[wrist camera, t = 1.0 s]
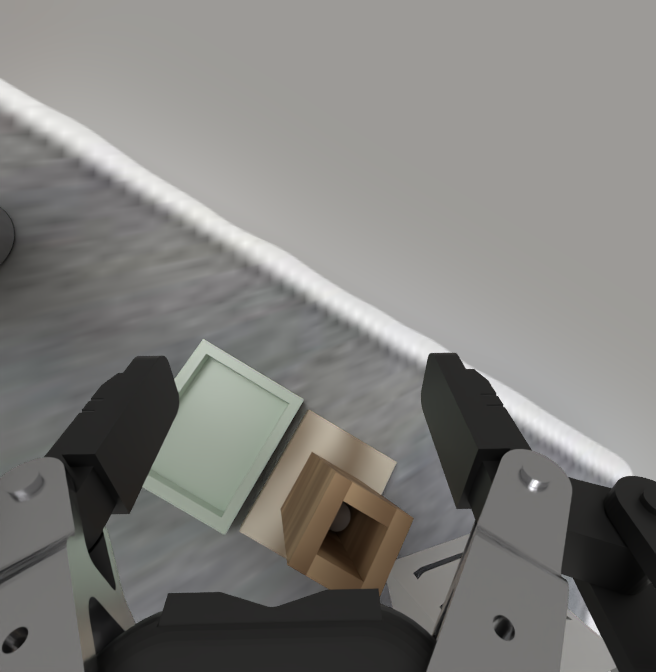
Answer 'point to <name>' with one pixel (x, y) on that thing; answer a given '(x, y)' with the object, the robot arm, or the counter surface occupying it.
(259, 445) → the tray
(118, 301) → the counter surface
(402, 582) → the grater
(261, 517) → the stake board
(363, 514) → the sleeve
